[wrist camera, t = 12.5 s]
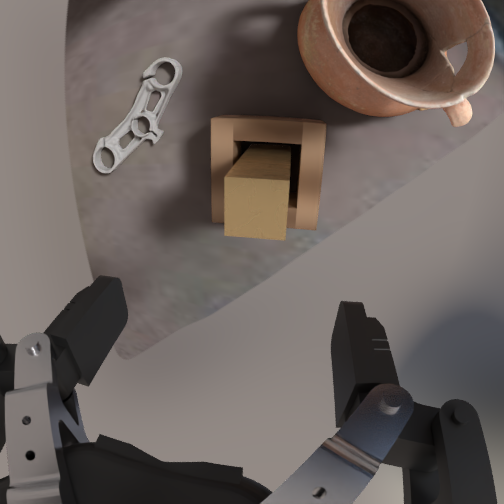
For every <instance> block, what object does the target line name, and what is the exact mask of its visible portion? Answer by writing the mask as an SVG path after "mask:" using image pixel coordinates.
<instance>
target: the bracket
mask: <svg viewBox="0 0 504 504" xmlns="http://www.w3.org/2000/svg"><path fill="white" fill-rule="evenodd" d="M165 62H170V63H171V64H172V65H173V66H174V67H175V76H174V79H173V81H172V82H171V83H169V84H167V85H161V84H159V83H158V82H157V80H156V78H150V79H147V80H144V81H143V84H142V87H141V89H140V91H139V93H138V95H137V98H136V100H135V103H134V105H133V107H132V109H131V110H130V112H129V113H128V115H127V116H126V118H125V119H124V120H123V121H122V122H121V123H120V124H119V125H118V126H117V127H116V128H115V129H114V130H113V131H112V133H111V134H110V135H109V136H107V137H103V138H100V140H99V141H98V143H97V146H96V149H95V151H94V154H93V163H94V165H95V167H96V169H97V170H98V171H100V172H101V173H110V172H112V171H113V170H116V169H117V168H118V167H119V166H120V165H121V164H122V163H123V162H124V160H125V159H126V158H127V157H128V156H129V155H130V154H131V153H132V152H133V151H135V150H136V149H137V148H138V147H139V146H140V145H141V144H142V143H143V142H144V141H145V140H146V139H151V140H152V141H153V144H155V143H156V142H157V141H158V140H159V139H160V138H161V137H162V135H163V133H164V131H162V130H159V129H158V128H157V126H158V123H159V121H160V118H161V116H162V114H163V112H164V110H165V108H166V106H167V104H168V102H169V100H170V98H171V95H172V94H173V92H174V90H175V88H176V87H177V85H178V83H179V81H180V79H181V77H182V67H181V65H180V63H179V62H178V61H176V60H174V59H171V58H160V59H158V60H156V61H155V62H154V63H152V64H151V65H150V66H149V67H148V68H147V69H146V70H145V71H144V73H143V78H148V77H151V76H154V75H155V72H156V69H157V68H158V67H159V66H160V65H161V64H162V63H165ZM155 90H157V91H159V92H161V98H160V100H159V101H158V103H157V105H156V107H155V109H154V110H153V111H152V112H151V111H148V110H147V109H146V108H147V105H148V102H149V98H150V95H151V93H152V92H153V91H155ZM142 109H143V110H144V112H143V113H140V112H141V111H142ZM158 112H159V114H158V116H156V114H157V113H158ZM142 116H144V117H146V118H147V119H148V120H149V122H150V129H149V130H150V131H153V132H149V133H146V134H144V133H142V132H140V131H139V129H138V118H140V117H142ZM131 130H132V131H133V133H134V135H135V137H134V139H133V140H132V141H131V142H130V143H129V144H128V146H127V147H126V148H125V149H123V148H121V146H120V145H119V140H120V138H122V137H123V136H124V135H125V134H127V133H128V132H129V131H131ZM155 133H156V134H157V135H156V134H155ZM140 137H141V138H142V139H141V140H139V139H140ZM104 147H106V148H109V149H110V150H111V151H112V152H113V154H114V157H115V162H114V165H113V167H112V168H107V167H105V166H104V164H103V163H102V160H101V151H102V149H103V148H104Z"/></svg>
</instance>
